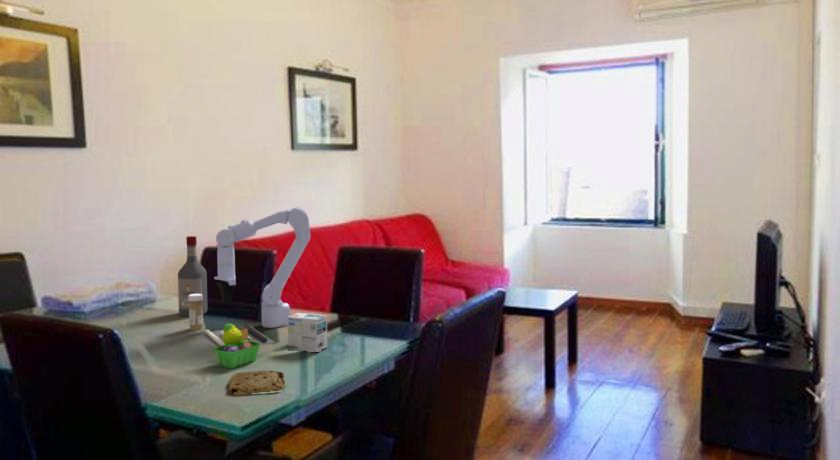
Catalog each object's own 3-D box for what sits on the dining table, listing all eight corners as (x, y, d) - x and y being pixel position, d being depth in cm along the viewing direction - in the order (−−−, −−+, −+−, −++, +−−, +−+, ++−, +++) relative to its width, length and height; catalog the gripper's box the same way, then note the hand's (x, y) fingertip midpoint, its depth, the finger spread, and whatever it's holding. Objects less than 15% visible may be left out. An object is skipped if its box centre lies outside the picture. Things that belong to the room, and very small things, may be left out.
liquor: (200, 316, 237) (198, 238, 234) (176, 316, 237) (174, 237, 234) (209, 311, 246) (207, 235, 243) (186, 310, 246) (184, 235, 243)
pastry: (208, 390, 160) (208, 378, 160) (259, 372, 175) (259, 361, 174) (256, 404, 151) (256, 392, 150) (305, 384, 165) (305, 373, 165)
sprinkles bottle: (205, 333, 212) (204, 294, 211) (191, 335, 210) (190, 296, 208) (201, 330, 216) (200, 292, 215) (187, 332, 214) (186, 294, 212)
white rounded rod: (208, 332, 208) (208, 328, 208) (226, 347, 191) (226, 343, 190) (204, 333, 207) (204, 329, 207) (221, 348, 190) (221, 344, 190)
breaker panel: (251, 330, 217) (250, 323, 217) (275, 347, 197) (275, 339, 197) (197, 337, 207) (197, 330, 207) (217, 356, 187) (217, 347, 187)
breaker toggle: (244, 339, 200) (244, 326, 200) (247, 341, 198) (247, 328, 197) (232, 341, 198) (232, 327, 198) (235, 343, 196) (234, 329, 195)
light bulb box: (327, 348, 197) (327, 314, 196) (317, 353, 191) (317, 319, 190) (298, 344, 201) (297, 311, 200) (287, 350, 194) (286, 316, 193)
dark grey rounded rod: (247, 327, 215) (247, 323, 215) (267, 341, 198) (267, 337, 198) (243, 328, 214) (242, 324, 214) (263, 342, 197) (263, 338, 197)
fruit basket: (231, 370, 174) (230, 331, 173) (210, 365, 179) (209, 326, 178) (261, 360, 184) (261, 322, 183) (241, 355, 189) (240, 318, 188)
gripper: (208, 261, 218) (209, 300, 220) (220, 267, 206) (221, 307, 207) (229, 260, 222) (229, 297, 223) (241, 265, 210) (242, 305, 211)
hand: (227, 302), depth 216 cm, fingers closed
